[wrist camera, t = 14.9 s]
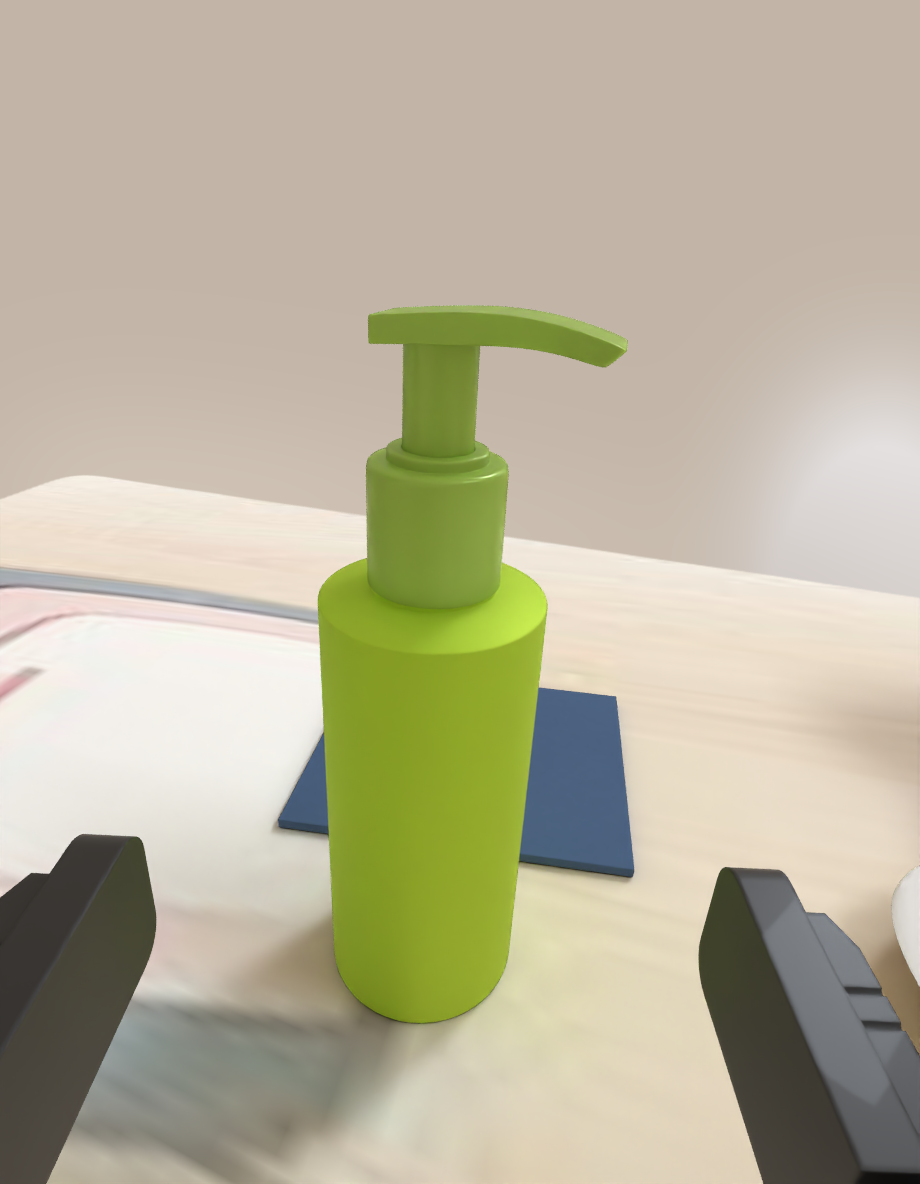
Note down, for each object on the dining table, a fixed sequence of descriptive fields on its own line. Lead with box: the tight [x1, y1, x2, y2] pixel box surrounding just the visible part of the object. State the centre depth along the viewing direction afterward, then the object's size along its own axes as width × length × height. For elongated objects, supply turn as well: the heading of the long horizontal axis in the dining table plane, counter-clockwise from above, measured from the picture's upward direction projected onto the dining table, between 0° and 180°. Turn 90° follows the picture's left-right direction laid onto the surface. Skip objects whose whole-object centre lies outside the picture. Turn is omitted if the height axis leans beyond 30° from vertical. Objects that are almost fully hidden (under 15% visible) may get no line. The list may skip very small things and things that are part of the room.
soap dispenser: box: [318, 306, 628, 1023], centre depth 20 cm, size 6×7×20 cm
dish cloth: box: [278, 688, 634, 877], centre depth 33 cm, size 14×12×1 cm
